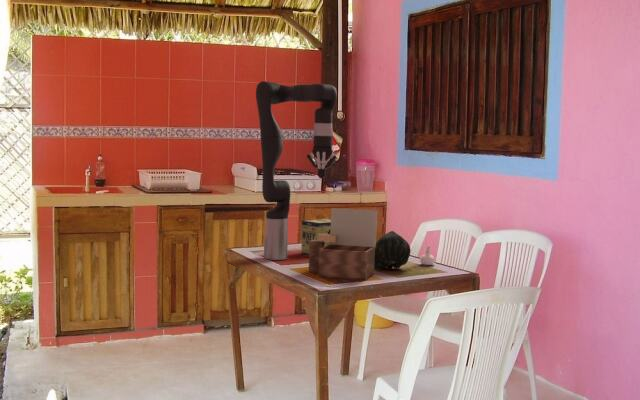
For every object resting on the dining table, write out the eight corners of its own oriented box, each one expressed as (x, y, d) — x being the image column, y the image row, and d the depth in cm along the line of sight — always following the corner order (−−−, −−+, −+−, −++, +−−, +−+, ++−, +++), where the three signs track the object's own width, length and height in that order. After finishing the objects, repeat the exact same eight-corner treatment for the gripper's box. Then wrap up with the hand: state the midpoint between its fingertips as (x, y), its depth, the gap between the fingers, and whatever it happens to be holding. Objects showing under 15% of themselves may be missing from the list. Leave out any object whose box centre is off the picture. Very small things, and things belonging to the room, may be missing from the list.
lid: (331, 208, 276) (332, 208, 277) (329, 244, 276) (330, 244, 276) (377, 210, 271) (377, 210, 272) (375, 247, 270) (375, 247, 271)
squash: (368, 266, 287) (369, 230, 286) (402, 265, 291) (403, 229, 290) (379, 273, 274) (380, 234, 272) (415, 272, 277) (416, 234, 276)
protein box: (300, 255, 313) (301, 220, 312) (326, 252, 324) (326, 218, 323) (316, 258, 306) (316, 222, 304) (342, 255, 316) (342, 220, 315)
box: (302, 275, 265) (302, 243, 264) (313, 269, 278) (314, 239, 277) (365, 280, 258) (366, 247, 257) (374, 274, 271) (374, 242, 270)
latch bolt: (317, 241, 270) (318, 234, 270) (320, 239, 274) (321, 233, 274) (335, 242, 268) (335, 235, 268) (338, 240, 272) (338, 234, 272)
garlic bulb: (427, 262, 301) (427, 243, 301) (438, 264, 296) (438, 245, 296) (416, 263, 298) (417, 244, 297) (427, 265, 293) (428, 246, 292)
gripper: (304, 134, 278) (303, 178, 280) (336, 135, 274) (335, 179, 276) (310, 134, 285) (309, 177, 287) (341, 135, 281) (340, 178, 283)
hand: (321, 178), depth 281 cm, fingers closed
